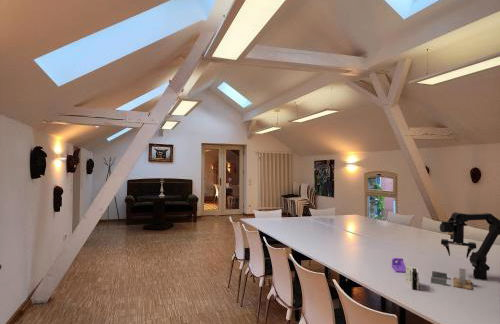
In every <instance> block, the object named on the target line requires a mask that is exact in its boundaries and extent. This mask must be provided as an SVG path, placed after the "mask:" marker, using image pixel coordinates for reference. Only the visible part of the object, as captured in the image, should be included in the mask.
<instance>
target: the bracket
mask: <svg viewBox="0 0 500 324" xmlns="http://www.w3.org/2000/svg"><path fill="white" fill-rule="evenodd" d="M405 264H406V263H405V262H404V258H401V257H400V258H399V257H392V259H391V268H392V269H393V271H394V272H395V273H400V274H406V265H405Z"/></svg>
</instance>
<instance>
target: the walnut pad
mask: <svg viewBox="0 0 500 324" xmlns="http://www.w3.org/2000/svg"><path fill="white" fill-rule="evenodd" d="M452 285H453V286H452V287H453V288H457V289H463V290H468V291H469V290H470V291H472V290H473V286H472V280H471V279H466V285H461V284H460V283H459V277H458V278H457V277H453V284H452Z"/></svg>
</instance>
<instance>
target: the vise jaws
mask: <svg viewBox="0 0 500 324" xmlns="http://www.w3.org/2000/svg"><path fill="white" fill-rule="evenodd" d="M431 274H432V275H431V277H430V283H431V284H435V285H441V286H447V279H448V273H447V272H443V271H442V272H441V271H435V270H432V272H431ZM437 277H438V278H437Z"/></svg>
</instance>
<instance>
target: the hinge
mask: <svg viewBox="0 0 500 324" xmlns="http://www.w3.org/2000/svg"><path fill="white" fill-rule="evenodd" d="M405 267H406V273H405V283H408V284H409V285H410V287H411V288H410V289H411V290H412V291H414V290H415V291H419V282H420V277H419V269H418V268H417V267H415V266H410V265H405Z"/></svg>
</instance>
